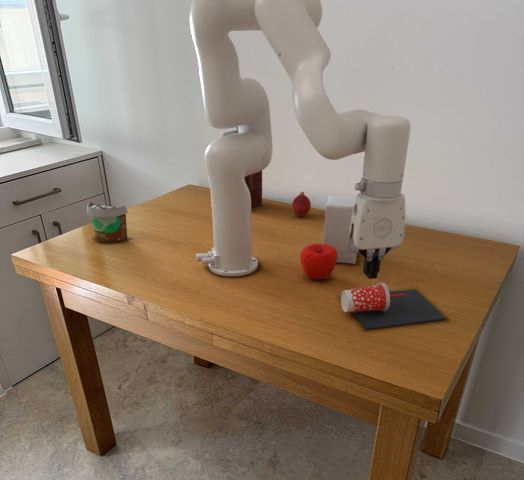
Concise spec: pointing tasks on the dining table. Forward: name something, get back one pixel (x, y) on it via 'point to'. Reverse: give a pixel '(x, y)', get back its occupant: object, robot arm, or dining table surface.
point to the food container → (108, 222)
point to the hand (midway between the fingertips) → (370, 276)
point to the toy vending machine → (252, 183)
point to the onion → (301, 204)
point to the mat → (400, 312)
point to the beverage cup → (367, 298)
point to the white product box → (339, 227)
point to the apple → (318, 260)
